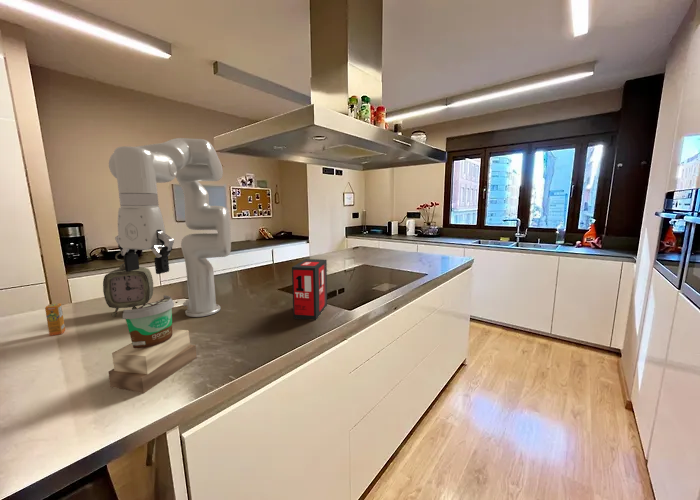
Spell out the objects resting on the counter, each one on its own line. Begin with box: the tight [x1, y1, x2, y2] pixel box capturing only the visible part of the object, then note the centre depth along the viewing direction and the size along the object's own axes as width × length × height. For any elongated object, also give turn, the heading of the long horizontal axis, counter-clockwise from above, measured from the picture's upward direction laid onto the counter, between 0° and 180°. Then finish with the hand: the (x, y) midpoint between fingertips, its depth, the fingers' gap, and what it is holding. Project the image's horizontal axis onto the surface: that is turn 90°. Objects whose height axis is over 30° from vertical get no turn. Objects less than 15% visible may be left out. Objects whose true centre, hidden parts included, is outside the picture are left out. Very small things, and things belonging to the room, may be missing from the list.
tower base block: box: [107, 343, 198, 394], centre depth 75 cm, size 10×16×4 cm, turn 166°
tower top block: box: [111, 328, 191, 374], centre depth 74 cm, size 9×14×4 cm, turn 171°
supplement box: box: [44, 302, 66, 337], centre depth 96 cm, size 3×3×10 cm
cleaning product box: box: [291, 258, 328, 321], centre depth 116 cm, size 16×9×20 cm, turn 170°
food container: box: [122, 295, 175, 348], centre depth 73 cm, size 12×6×10 cm, turn 168°
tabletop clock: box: [102, 251, 154, 317], centre depth 115 cm, size 14×9×25 cm, turn 114°
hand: (147, 271), depth 72 cm, fingers open, 9 cm apart
